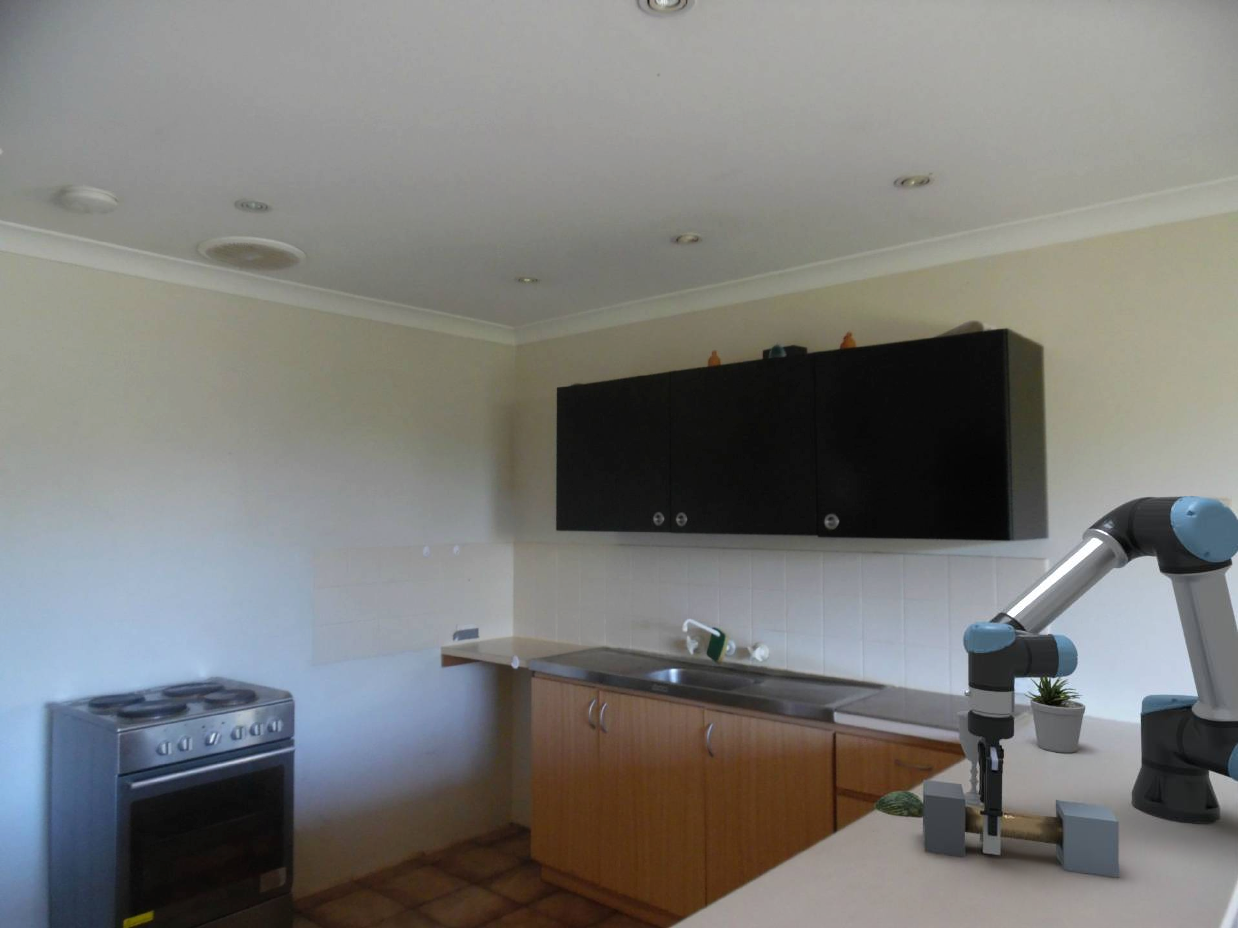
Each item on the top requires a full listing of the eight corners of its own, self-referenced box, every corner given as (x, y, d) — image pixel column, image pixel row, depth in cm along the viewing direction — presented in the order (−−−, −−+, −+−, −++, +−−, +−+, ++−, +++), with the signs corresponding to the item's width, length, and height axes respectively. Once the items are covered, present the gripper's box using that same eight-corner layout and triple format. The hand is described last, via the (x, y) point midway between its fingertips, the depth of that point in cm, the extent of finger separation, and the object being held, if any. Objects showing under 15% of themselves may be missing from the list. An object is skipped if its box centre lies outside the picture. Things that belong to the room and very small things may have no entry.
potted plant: (1030, 738, 230) (1030, 662, 231) (1088, 748, 222) (1088, 669, 223) (1020, 748, 220) (1020, 668, 221) (1081, 758, 212) (1081, 676, 213)
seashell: (900, 778, 178) (938, 793, 169) (901, 798, 178) (939, 814, 169) (863, 788, 174) (900, 804, 165) (864, 808, 174) (901, 826, 165)
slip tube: (1073, 841, 149) (1074, 815, 149) (1079, 850, 145) (1079, 824, 145) (936, 823, 156) (937, 798, 156) (938, 832, 151) (938, 806, 152)
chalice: (995, 813, 170) (996, 720, 171) (959, 809, 172) (960, 718, 173) (987, 801, 178) (988, 712, 179) (952, 797, 179) (953, 709, 180)
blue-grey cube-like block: (1106, 859, 149) (1107, 805, 149) (1118, 877, 141) (1118, 821, 142) (1055, 852, 151) (1055, 799, 152) (1064, 869, 144) (1064, 814, 144)
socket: (960, 838, 156) (961, 783, 157) (964, 857, 148) (965, 799, 148) (922, 833, 158) (923, 779, 159) (924, 851, 150) (925, 794, 150)
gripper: (963, 699, 161) (962, 827, 160) (972, 721, 145) (971, 863, 144) (1007, 703, 159) (1006, 832, 158) (1021, 725, 143) (1020, 870, 141)
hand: (989, 847), depth 151 cm, fingers closed on slip tube, 4 cm apart
